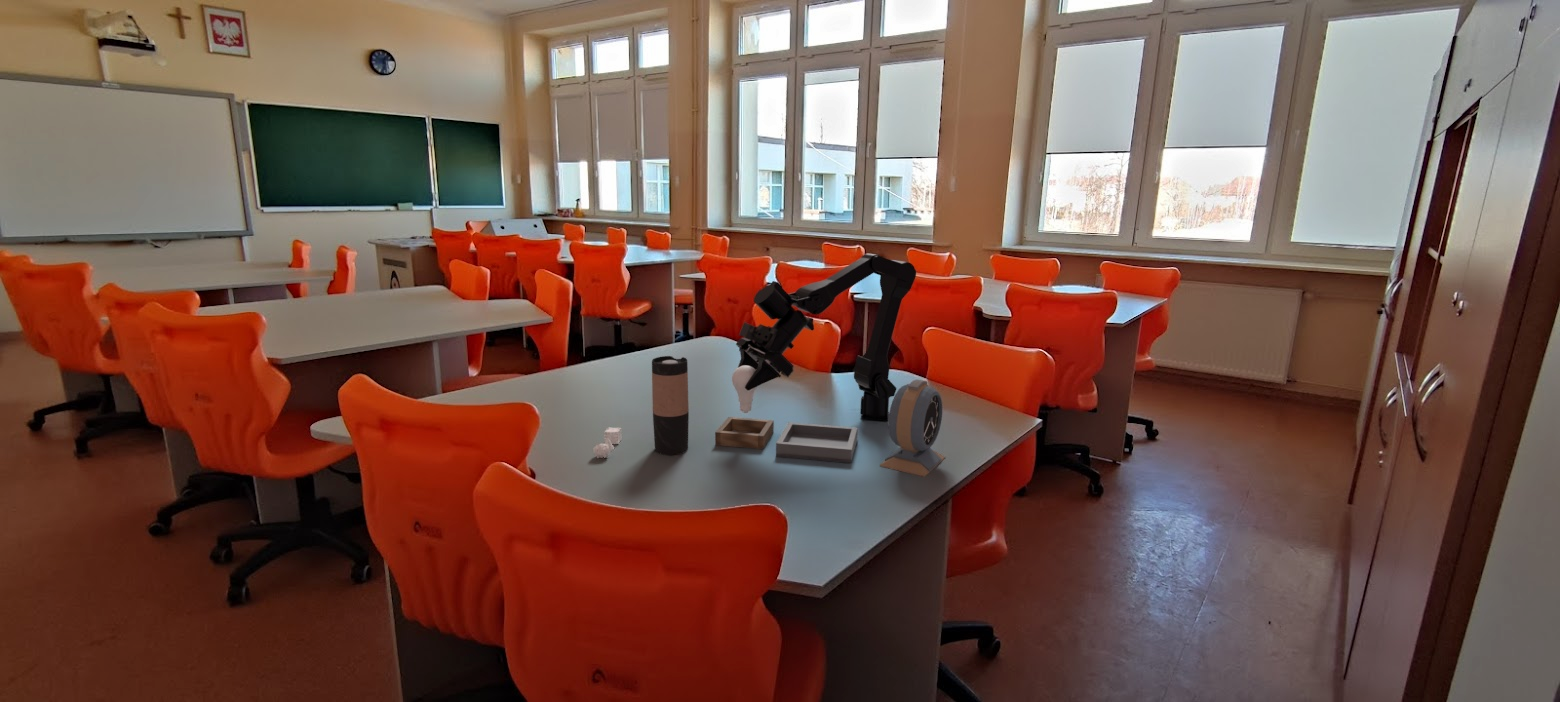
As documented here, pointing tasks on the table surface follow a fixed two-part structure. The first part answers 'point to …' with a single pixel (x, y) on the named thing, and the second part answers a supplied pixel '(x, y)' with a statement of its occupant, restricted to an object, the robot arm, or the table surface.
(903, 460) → the alarm clock
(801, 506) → the table surface
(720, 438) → the socket block
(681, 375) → the travel mug
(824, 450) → the tray
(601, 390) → the table surface
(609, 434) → the game pieces
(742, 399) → the lightbulb
